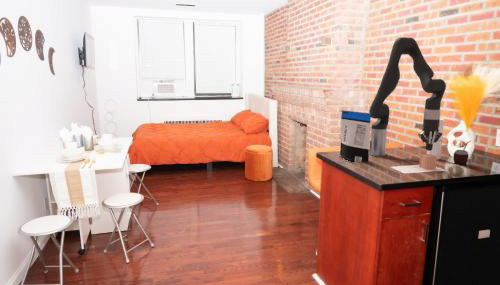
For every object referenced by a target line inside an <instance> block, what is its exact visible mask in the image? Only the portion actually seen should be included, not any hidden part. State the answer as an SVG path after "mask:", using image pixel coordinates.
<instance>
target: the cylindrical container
mask: <svg viewBox="0 0 500 285" xmlns="http://www.w3.org/2000/svg"><path fill="white" fill-rule="evenodd" d="M444 124H445V119H444V118H440V123H439V127H438V129H439V132H440V133H442V136H441V137H440V138H439V139H438V141H437V142H435V143H433V147H432V150H431V151H428V150H426V151H427V152H426V154H432V155H435V156H437V160H441V158H442V157H441V155H442V147H443V146H442V145H443V134H444Z"/></svg>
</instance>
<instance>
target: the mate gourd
mask: <svg viewBox="0 0 500 285" xmlns="http://www.w3.org/2000/svg"><path fill="white" fill-rule="evenodd" d="M469 143H471V140H469V141H467V142H466V143H465V145H464V147H463V149H457V150H455V151H454V152H453V164H454V165H458V166H461V165H462V166H467V165H468V164H467V162H468V161H469V152H468V150H466V147H467V145H468V144H469Z"/></svg>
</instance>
